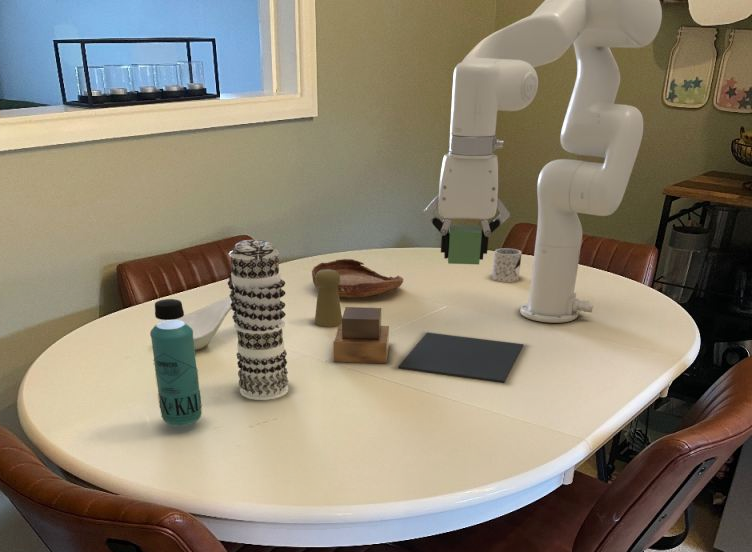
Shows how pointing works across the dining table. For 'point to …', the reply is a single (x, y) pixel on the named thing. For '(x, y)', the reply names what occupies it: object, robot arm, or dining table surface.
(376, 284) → the wooden bowl
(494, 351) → the mat
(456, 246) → the green block
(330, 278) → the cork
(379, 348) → the oak block
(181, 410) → the beverage bottle
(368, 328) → the walnut block
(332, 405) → the dining table surface
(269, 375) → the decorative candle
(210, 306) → the spoon rest
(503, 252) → the mug
